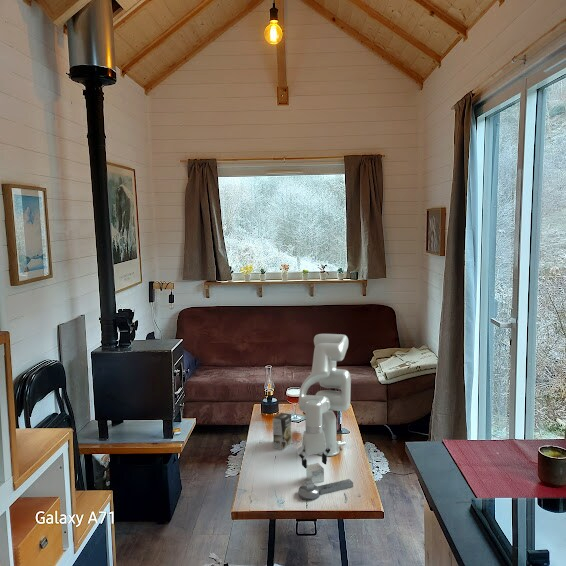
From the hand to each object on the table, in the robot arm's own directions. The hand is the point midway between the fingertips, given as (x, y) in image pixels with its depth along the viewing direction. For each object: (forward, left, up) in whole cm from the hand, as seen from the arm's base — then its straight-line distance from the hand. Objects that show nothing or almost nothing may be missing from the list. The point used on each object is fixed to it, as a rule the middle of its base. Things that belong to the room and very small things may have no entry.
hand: (314, 465), depth 239 cm
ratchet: (-1, +10, -7) cm, 13 cm away
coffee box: (0, -41, -8) cm, 41 cm away
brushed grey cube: (0, -1, -7) cm, 7 cm away
